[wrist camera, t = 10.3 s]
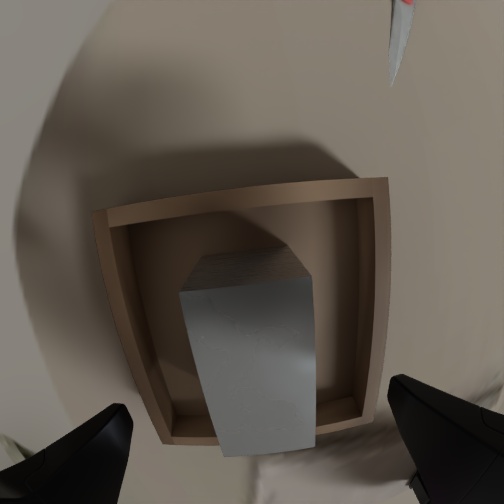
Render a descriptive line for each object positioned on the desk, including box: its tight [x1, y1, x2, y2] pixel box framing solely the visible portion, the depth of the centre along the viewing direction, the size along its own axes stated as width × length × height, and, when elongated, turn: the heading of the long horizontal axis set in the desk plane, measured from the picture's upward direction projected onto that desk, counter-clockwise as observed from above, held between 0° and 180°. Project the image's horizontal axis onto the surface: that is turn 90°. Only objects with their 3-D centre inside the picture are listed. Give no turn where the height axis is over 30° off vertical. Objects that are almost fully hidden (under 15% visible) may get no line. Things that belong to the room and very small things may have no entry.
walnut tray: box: [91, 177, 391, 445], centre depth 14 cm, size 13×14×3 cm
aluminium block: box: [179, 245, 316, 457], centre depth 12 cm, size 8×4×5 cm, turn 7°
